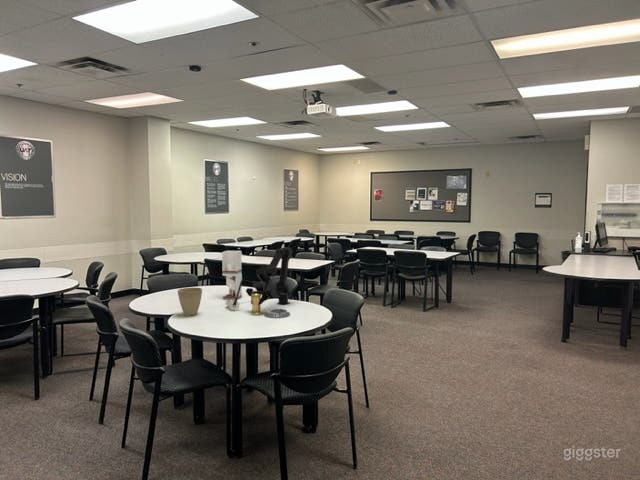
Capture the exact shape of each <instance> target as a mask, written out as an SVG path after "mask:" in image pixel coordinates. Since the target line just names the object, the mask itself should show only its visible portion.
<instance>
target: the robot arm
mask: <svg viewBox="0 0 640 480" xmlns="http://www.w3.org/2000/svg"><path fill="white" fill-rule="evenodd" d="M292 256H293V249H292V248H291V247H281V248H277V249H276V250H275V253H274V255H273V257H272V258H271V261H270V263H269V264H268V265H266V266H260V267H259V268H257V269H256V270H255V273H256V275H257V277H258V279H259V280H260V281H253V285H252V287H253V288H251V287H250V288H249V287H247V288H246V290H245V292H246V294H247V296H249V297H251V298H250V304H251V305H252V293H261V299H260V301H259V305H260V304H261V305H262V304H263V303H264V302H266V301H267V300H269V299H274V298H275V297H276V296H278V302H276V304H277V305H283V306H284V305H288V304H290V302H289V296H291V292H292V291H291V290H290V288H289V283H288V282H287V278H288V270H289V269H288V268H289V261H290V260H291V259H292ZM280 262H281V263H280ZM279 263H280V273H279V280H278V281H277V282H276V284H275V293H276V296H275V293H274V291H273V290H271V289H269V286H270V284H271V283H273V280H272V278H275V276H276V274H277V267H278V265H279Z"/></svg>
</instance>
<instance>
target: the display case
mask: <svg viewBox="0 0 640 480" xmlns="http://www.w3.org/2000/svg"><path fill="white" fill-rule="evenodd" d="M221 254H222V255H221V256H222V257H221V258H222V263H221V264H222V267H221V269H222V276H224V277H225V278H226V279H225V280H226V281H225V282H226V283H225V284H226V287H227V288H228V290H229V291H228V294H225V295H224V296H223V297H222V300H223V301H227V300H230V301H232V300H235V298H236V295H237V292H238V288H239V285H240V282H241V281H243V279H242V278H243V277H242V276H243V275H242V267H243V266H242V250H224V251H222V253H221ZM242 287H243V285H241V288H240V292H239V295H238V299H237V301H239V300H240V299H242V298H243V292H242V291H243V289H242Z"/></svg>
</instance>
